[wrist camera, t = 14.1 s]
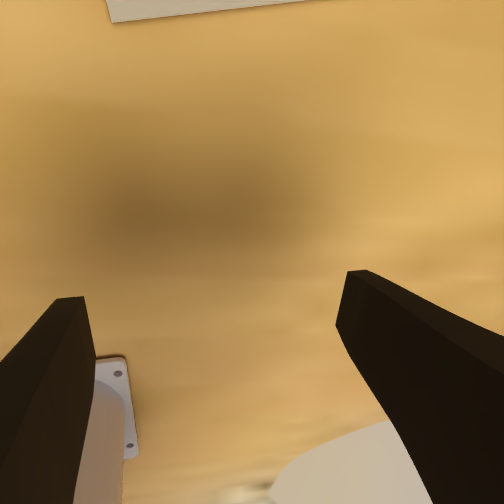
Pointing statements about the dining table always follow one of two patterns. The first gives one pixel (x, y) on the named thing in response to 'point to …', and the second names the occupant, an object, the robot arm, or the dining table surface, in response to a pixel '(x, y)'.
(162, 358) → the dining table surface
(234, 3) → the baseboard molding
